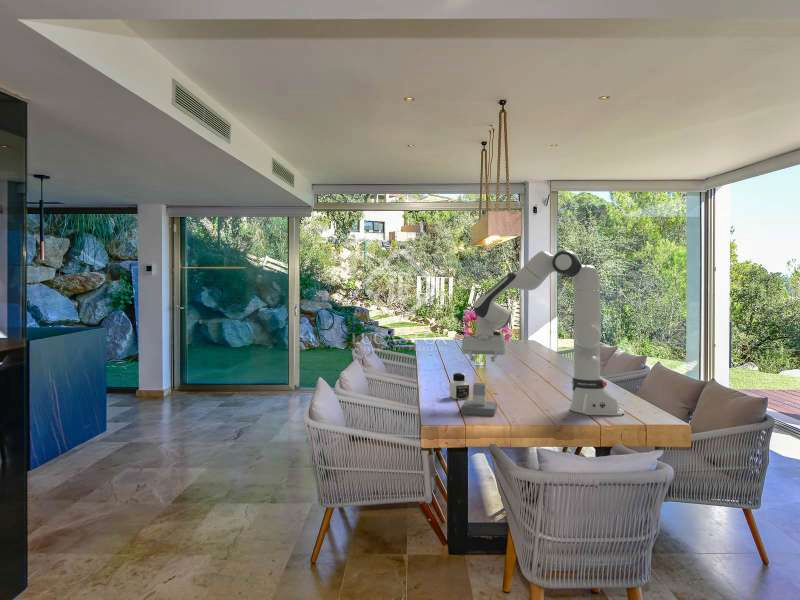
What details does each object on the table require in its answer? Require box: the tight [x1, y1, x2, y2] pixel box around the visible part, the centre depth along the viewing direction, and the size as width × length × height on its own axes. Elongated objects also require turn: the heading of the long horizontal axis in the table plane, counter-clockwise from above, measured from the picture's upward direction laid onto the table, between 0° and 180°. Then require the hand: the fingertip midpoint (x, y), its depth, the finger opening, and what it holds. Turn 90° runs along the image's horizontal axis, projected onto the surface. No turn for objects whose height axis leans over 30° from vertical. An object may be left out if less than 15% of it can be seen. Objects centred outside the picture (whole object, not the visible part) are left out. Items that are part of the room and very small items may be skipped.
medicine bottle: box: [449, 372, 470, 400], centre depth 262 cm, size 7×7×12 cm
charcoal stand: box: [460, 399, 498, 417], centre depth 234 cm, size 14×14×3 cm
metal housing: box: [472, 382, 487, 406], centre depth 234 cm, size 5×5×9 cm
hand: (482, 360), depth 244 cm, fingers open, 8 cm apart
